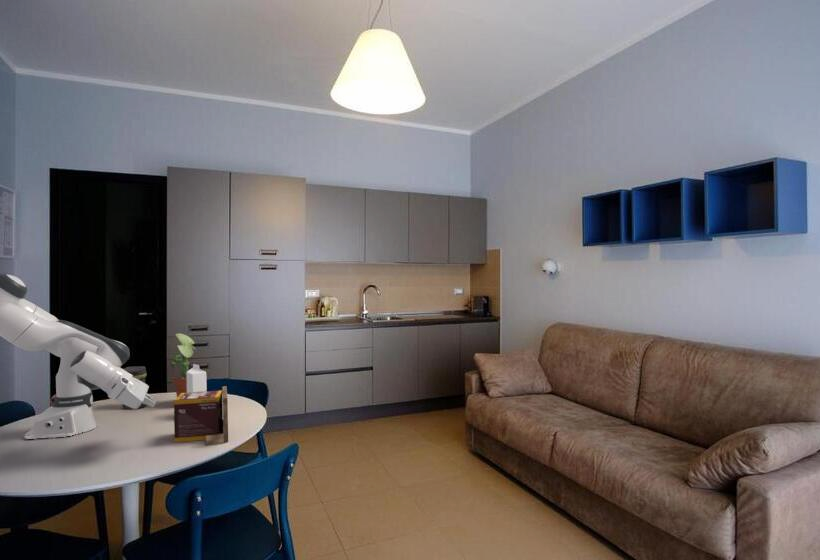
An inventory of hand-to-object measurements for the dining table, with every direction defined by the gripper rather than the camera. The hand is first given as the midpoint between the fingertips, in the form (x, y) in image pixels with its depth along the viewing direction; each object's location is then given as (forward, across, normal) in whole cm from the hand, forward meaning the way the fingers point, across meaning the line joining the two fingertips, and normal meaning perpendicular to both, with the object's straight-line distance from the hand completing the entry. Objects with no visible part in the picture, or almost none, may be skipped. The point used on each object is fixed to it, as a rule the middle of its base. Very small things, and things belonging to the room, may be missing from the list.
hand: (155, 404), depth 172 cm
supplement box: (+20, -1, -2) cm, 21 cm away
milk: (+20, -28, -4) cm, 35 cm away
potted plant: (+18, -48, -6) cm, 52 cm away
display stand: (+25, +1, +2) cm, 25 cm away
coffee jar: (0, -55, -21) cm, 59 cm away
